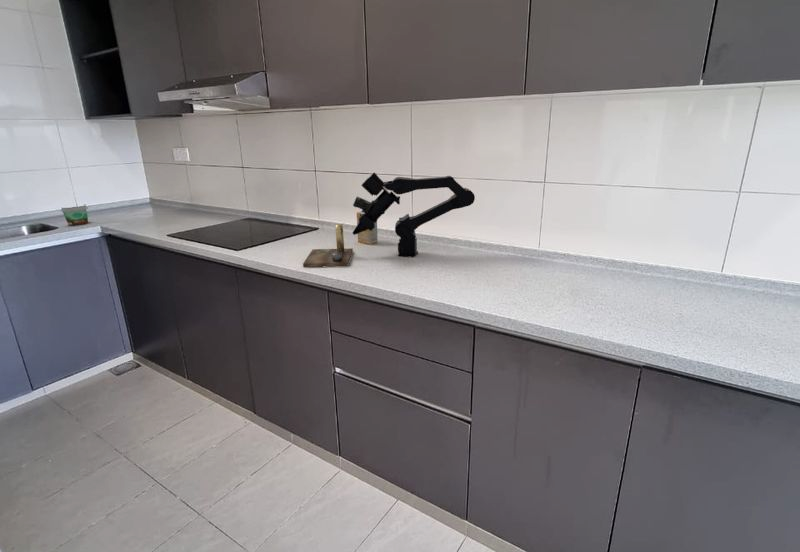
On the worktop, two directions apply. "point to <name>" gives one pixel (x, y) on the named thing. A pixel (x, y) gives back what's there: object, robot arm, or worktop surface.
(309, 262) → the dial board
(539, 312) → the worktop surface
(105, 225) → the worktop surface
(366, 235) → the supplement box
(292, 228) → the worktop surface
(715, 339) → the worktop surface
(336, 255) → the tuning lever
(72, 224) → the food container
